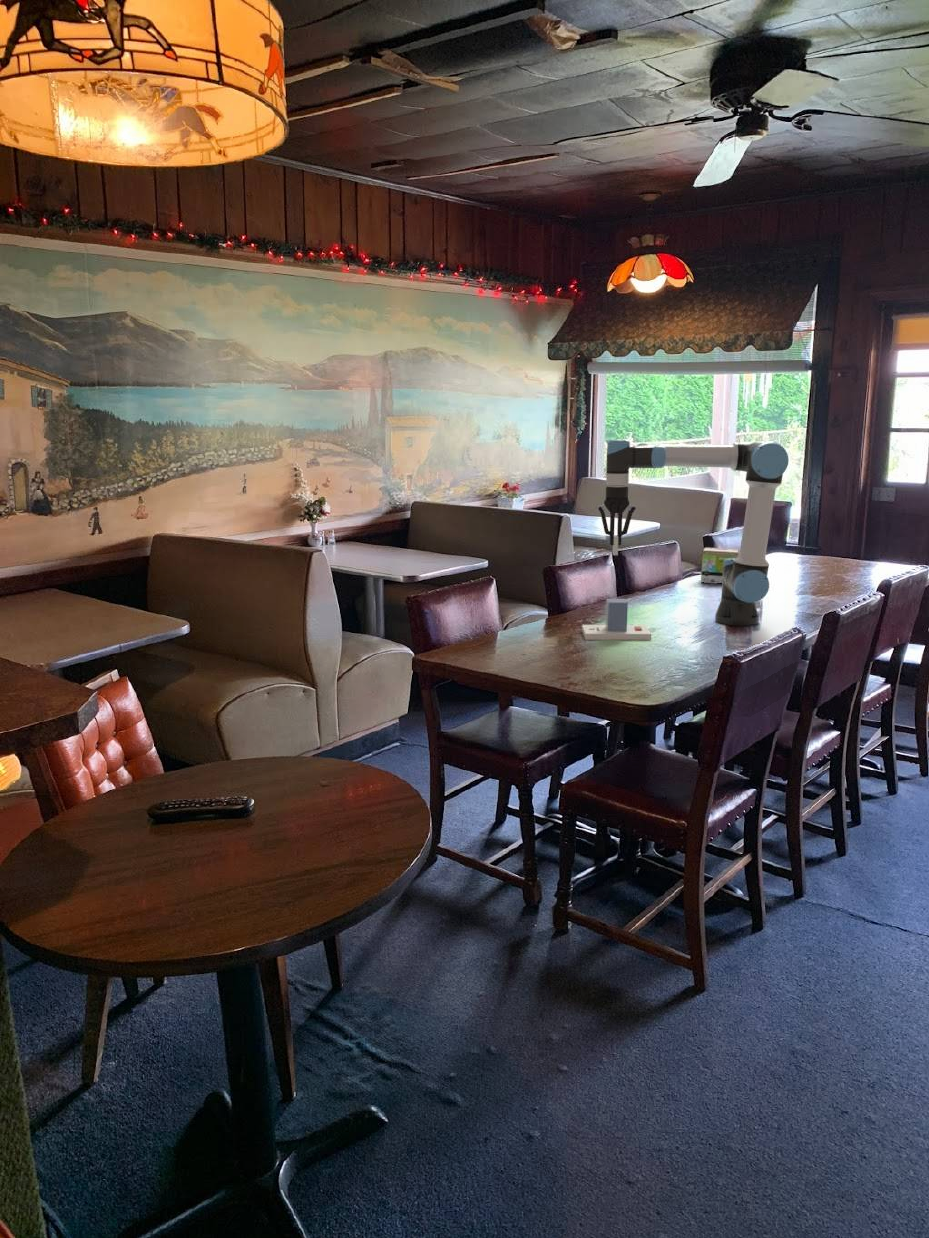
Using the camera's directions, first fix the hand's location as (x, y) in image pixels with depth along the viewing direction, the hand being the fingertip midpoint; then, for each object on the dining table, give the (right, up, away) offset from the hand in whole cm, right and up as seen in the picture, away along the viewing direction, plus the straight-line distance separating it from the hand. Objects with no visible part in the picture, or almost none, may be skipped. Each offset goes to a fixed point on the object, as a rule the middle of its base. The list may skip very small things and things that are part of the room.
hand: (615, 554), depth 322 cm
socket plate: (0, -28, -3) cm, 28 cm away
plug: (0, -28, -3) cm, 28 cm away
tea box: (+61, -6, +90) cm, 109 cm away
